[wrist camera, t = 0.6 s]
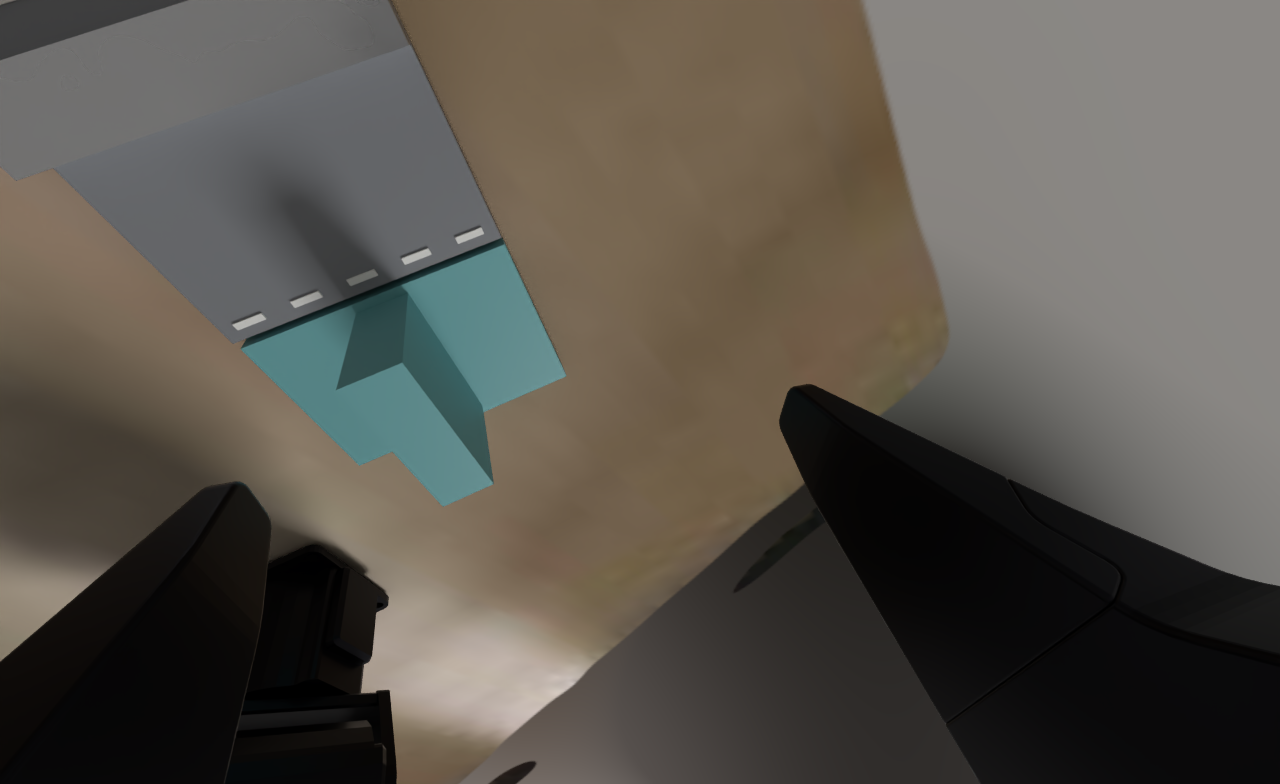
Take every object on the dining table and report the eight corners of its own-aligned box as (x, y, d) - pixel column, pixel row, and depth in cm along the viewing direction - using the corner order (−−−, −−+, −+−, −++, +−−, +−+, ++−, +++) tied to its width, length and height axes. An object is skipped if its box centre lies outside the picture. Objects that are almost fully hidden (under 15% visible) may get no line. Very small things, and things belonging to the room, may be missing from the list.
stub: (361, 453, 22) (344, 558, 17) (247, 338, 17) (186, 439, 13) (562, 367, 23) (594, 445, 18) (502, 237, 18) (524, 300, 14)
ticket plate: (241, 330, 17) (218, 366, 15) (-623, -546, 7) (-1011, -760, 5) (498, 229, 18) (506, 251, 16) (78, -669, 8) (-30, -886, 6)
